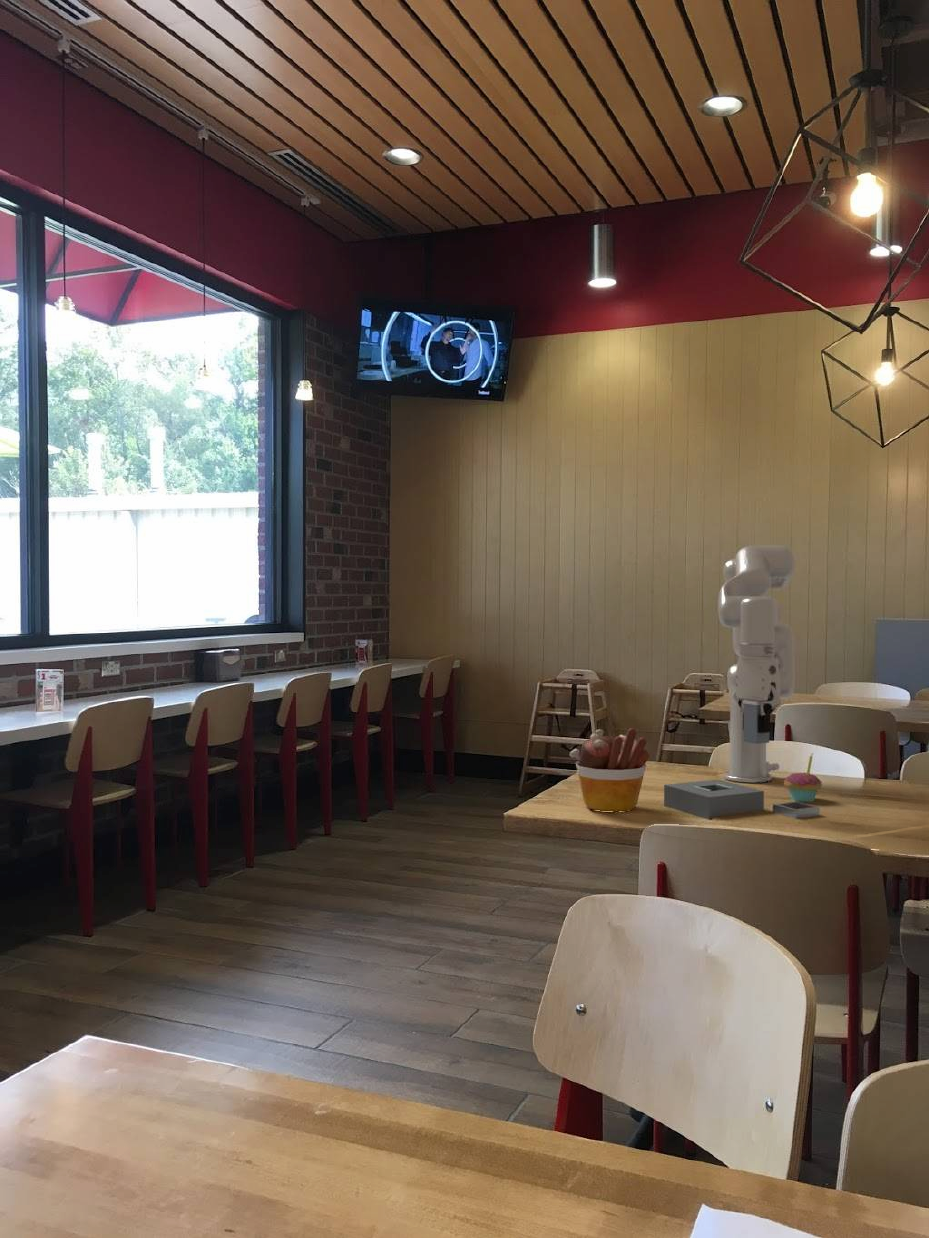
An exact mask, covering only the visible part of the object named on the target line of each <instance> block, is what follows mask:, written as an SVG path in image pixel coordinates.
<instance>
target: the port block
mask: <svg viewBox="0 0 929 1238" xmlns="http://www.w3.org/2000/svg"><path fill="white" fill-rule="evenodd" d="M663 787H664V788H663V789H664V791H663V796H664V797H663V806H664V807H667V808H670V809H674V810H677V811H679V810H680V812H683V813H687V814H690V815H693V816H696V817H699V818H703V819H706V820H714V818H713V817H720V816H729V815H737V814H746V813H753V812H761V811H762V812H763V811H764V810H765V809H764V808H765V805H764V804H765V797H764V796H765V791H764V790H761V789H756V788H752V787H749V786H744V785H740V784H736V783H733V782H729V781H724V780H721V779H709V780H699V781H689V782H681V783H669V784H664V785H663Z"/></svg>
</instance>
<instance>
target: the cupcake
mask: <svg viewBox="0 0 929 1238" xmlns="http://www.w3.org/2000/svg"><path fill="white" fill-rule="evenodd" d="M812 762H813V753H810V756H809V758H808V762H807V763H808V764H807V768H806V772H797V773H796V772H794V773H791V774H790V775H788V776H787V777H786V778H784V782H783V786H785V787H786V788H788V791H789V793H790V797H791V800H793V801H794V802H796V801H797V802H800V803H809V802H814V801H815V798H816V796H817V793H818V791H819V790H821V789H822V783H823V782H822V780H820V778H819V777H817V776H816V775H814V774H811V773H810V772H811V767H812Z"/></svg>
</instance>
